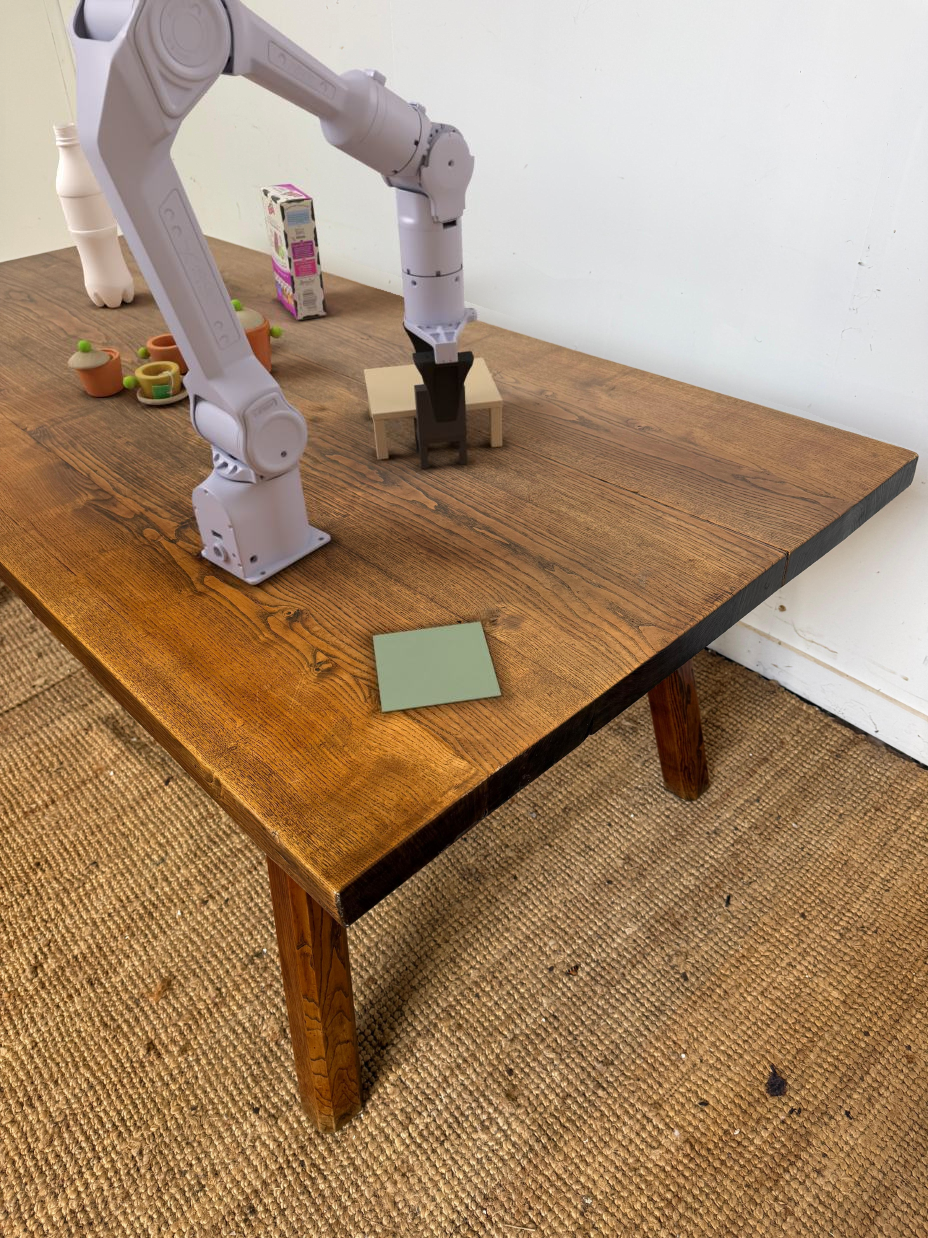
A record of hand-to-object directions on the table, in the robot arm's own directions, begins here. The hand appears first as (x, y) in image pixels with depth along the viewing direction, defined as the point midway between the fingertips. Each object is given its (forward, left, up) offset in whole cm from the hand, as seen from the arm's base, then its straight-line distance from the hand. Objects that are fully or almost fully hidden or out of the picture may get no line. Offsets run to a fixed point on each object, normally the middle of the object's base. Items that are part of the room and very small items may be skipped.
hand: (440, 404), depth 90 cm
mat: (-25, -21, -7) cm, 33 cm away
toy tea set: (-4, +43, -7) cm, 43 cm away
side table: (+5, +7, -7) cm, 11 cm away
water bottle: (+7, +78, -7) cm, 78 cm away
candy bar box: (+23, +51, -7) cm, 56 cm away
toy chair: (+1, +2, -7) cm, 7 cm away
